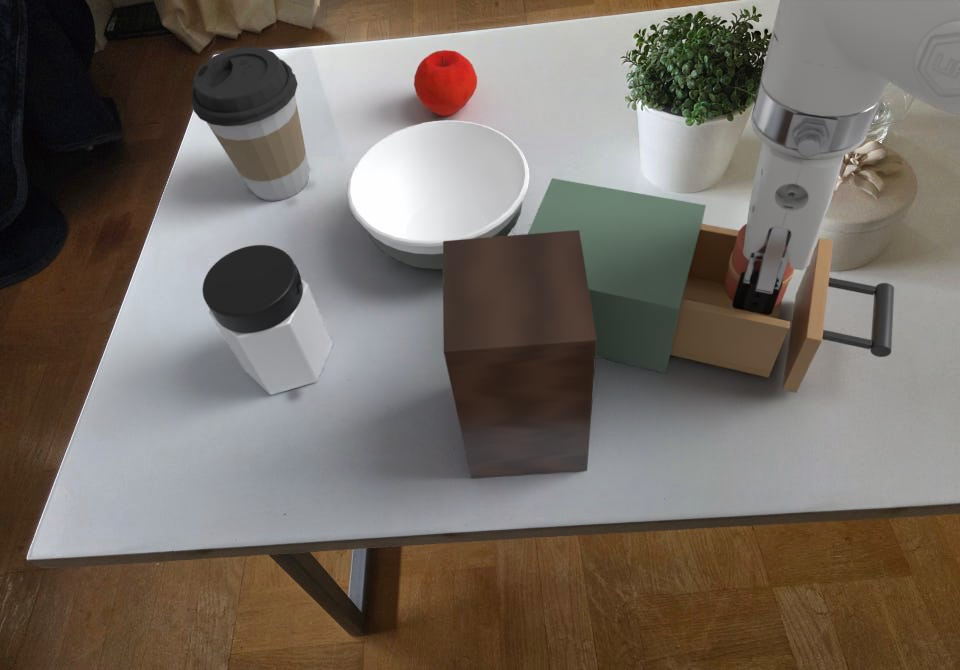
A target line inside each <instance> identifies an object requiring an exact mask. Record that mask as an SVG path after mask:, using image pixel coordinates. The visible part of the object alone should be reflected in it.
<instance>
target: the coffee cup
mask: <svg viewBox="0 0 960 670" xmlns="http://www.w3.org/2000/svg"><path fill="white" fill-rule="evenodd" d="M192 82H193V85H192V89H191V90H190V100H191V105H192V108H193V112H194V113H195V114H196V116H197V117H198V118H199V119H200V120H201V121H204V122H206V124H207V125H208V127H209V128H210V130H211V132H212V133H213V135H214V137H215V138H216V139H217V141H218V143H219V144H220V145H221V147H222V149H223V150H224V152H225V154H226V156H227V157H228V158H229V159H230V162H231V163H232V164H233V166H234V168H235V169H236V170H237V172H238V173H239V175H240V176H241V178H242V180H243V181H244V183H245V185H246V186H247V187H248V189H249V190H250V191H251V192H252V193H253V194H254V195H255V197H257V198H259V199H261V200H264V201H269V202H276V201H277V202H278V201H283V200H287V199H291V198H293V197H294V196H295V195H298V194H299V193H300V192H301V191H302V190H304V188H305V187H306V186H307V184H308V182H309V178H310V173H309V172H310V167H309V162H308V155H307V151H306V146H305V140H304V135H303V129H302V125H301V124H302V123H301V119H300V114H299V108H298V104H297V99H296V92H297V88H298V85H299V84H298V80H297V77H296V74H295V73H293V69H292V67H291V66H290V65H289V64H287V62H286V61H284V59H281V58H280V57H278V56H277V54H275V52H274V51H271V50H268V49H266V48H262V47H256V46H244V47H237V48H236V47H235V48H232V49H229V50H224V51H223V52H220V53H217V54H216V55H214V56H211V58H209V59H208V60H206V61H205V62H204V63H203V64H202V65H200V67H199V68H198V69H197V70H196V72H195V74H194V77H193V79H192Z"/></svg>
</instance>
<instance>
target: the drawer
mask: <svg viewBox="0 0 960 670" xmlns="http://www.w3.org/2000/svg"><path fill="white" fill-rule="evenodd" d="M739 230H740V229H733V228H727V227H721V226H717V225H711V224H706V223H702V224H701V228H700V232H699V236H698V240H697V244H696V247H695V251H694V255H693V259H692V263H691V267H690V271H689V275H688V279H687V283H686V287H685V290H684V294H683V298H682V302H681V306H680V310H679V315H678V320H677V324H676V329H675V333H674V338H673V343H672V347H671V352H670V356H674V357H678V358H682V359H688V360H690V361H694V362H700V363H703V364H708V365H713V366H716V367H721V368H724V369H725V368H726V369H729V370H734V371H738V372H743V373H746V374H751V375H754V376H760V377H764V378H770V375H771V372H772V371H773V369H774V366H775V363H776V361H777V359H778V356H779V353H780V350H782V349H781V348H782V347H783V344H784V343H785V339H786V337H787V335H788V332H789V330H790V332H789V333H790V335H789V340H788V346H787V354H786V360H785V367H784V375H783V381H782V387H781V388H782V390H783V391H786V392H792V393H797V392H798V390H799V388H800V386H801V384H802V382H803V380H804V378H805V375H806V374H807V372H808V370H809V368H810V366H811V364H812V362H813V360H814V358H815V356H816V354H817V352H818V350H819V347H820V346H821V344H822V342H823V341H829V342H833V343H838V344H843V345H847V346H853V347H856V348H862V349H865V350H870V354H872V355H873V356H874V357H877V358H884V357H885V358H886V357H888V356H890V355H891V354H892V347H893V345H892V343H893V326H894V325H893V323H894V302H895V287H894V286H893V284H890V283H888V282H881V283H877V284H876V285H870V284H864V283H860V282H854V281H848V280H845V279H844V280H843V279H838V278H833V277H830V273H831V264H832V255H833V246H834V240H833V239H829V238H828V239H827V238H823V237H818V240H817V243H816V246H815V249H814V252H813V255H812V258H811V261H810V264H809V266H808V267H807V268H805V271H804V273H803V276H802V278H801V280H800V283H799V286H798V289H797V291H796V293H795V298H794V304H793V312H792V320H791V321H789V320H785V319H780V315H781V310H782V309H781V308H782V302H783V299H782V300H781V302H780V303H779V304H777V305H776V306H774V309H773V311H772V314H770V315H764V314H759V313H754V312H749V311H745V310H740V309H736V308H734V307H733V306H732V304H733V301H732V300H731V299H730V298H729V297H728V295H727V293H726V291H725V279H726V276H727V272H728V268H729V260H730V257H731V254H732V252H733V250H734V246H735V243H736V239H737V235H738V232H739ZM829 288H833V289H839V290H844V291H849V292H854V293H859V294H865V295H868V296H869V295H870V296H873V305H872V318H871V319H872V322H871V335H870V336H871V337H870V339H868V338H864V337H859V336H854V335H850V334H845V333H839V332H836V331H831V330H827V329H824V327H825V317H826V310H827V309H826V308H827V301H828V292H829ZM790 327H791V328H790Z"/></svg>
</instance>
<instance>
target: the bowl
mask: <svg viewBox="0 0 960 670" xmlns="http://www.w3.org/2000/svg"><path fill="white" fill-rule="evenodd" d="M529 169H530V168H529V163H528V161H527V159H526V157H525V155H524V152H523V151H522V150H521V149H520V147H518V145H517V144H516V142H514V141H513V140H512V139H511V138H510V137H508V136H507V135H505V134H504V133H502V132H501V131H499V130H496V129H494V128H492V127H490V126H487V125H484V124H480V123H478V122H471V121H466V120H465V121H464V120H447V119H445V120H433V121H427V122H422V123H417V124H414V125H410V126H406V127H404V128H402V129H398V130H396V131H394V132H392V133H390V134H389V135H386V136H384V137H383V138H381V139H380V140H378V141H377V142H375V143H374V144H373V145H371V146H370V147H369V148H368V149H367V150H366V151H365V152H364V153H363V154H362V155H361V156H360V157H359V159H358V160H357V162H356V164H355V165H354V167H353V168H352V170H351V172H350V175H349V178H348V181H347V188H346V199H347V203H348V207H349V210H350V211H351V213H352V215H353V216H354V218H355V219H356V221H357V222H359V223H360V224H361V226H362V227H363V229H364V230H365V232H366V234H367V236H368V237H369V239H370V241H372V243H373V244H374V245H375V246H376V247H377V248H378V249H380V250H381V251H383V252H384V253H386V254H387V255H389V256H390V257H391V258H392V259H395V260H396V261H398V262H400V263H403V264H406V265H408V266H412V267H416V268H422V269H433V270H435V269H436V270H443V241H451V240H463V239H475V238H487V237H499V236H509V235H510V233H511V232H512V230H513V229H514V228H515V227H516V225H517V223H518V221H519V219H520V216H521V214H522V208H523V201H524V198H525V196H526V194H527V191H528V188H529V183H530V170H529Z"/></svg>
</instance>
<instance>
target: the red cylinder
mask: <svg viewBox="0 0 960 670" xmlns="http://www.w3.org/2000/svg"><path fill="white" fill-rule="evenodd" d="M746 226H747V223H745V224H744V225H743V226H742V227H741V228H740V229H738V230H739V232H738V235H737V239H736V243H735V246H734V250H733V252H732V254H731V257H730V260H729V268H728V272H727V276H726V279H725V291H726V293H727V295H728V297H729V298H730V299H731V300H732V301H733V300H734V296H735V293H736V289H737V286H738V283H739V279H740V276H741V272H745V271H746V268H747V264H748V259H747V258H746V257H745V256H744V254H743V249H744V241H745V232H746ZM764 246H766V243H765V244H764ZM784 250H785V248H784ZM761 263H762V259H757V260H756V264H755V267H754V270H759V271H760V267H761ZM795 270H796V269H791V267H790V263H789V260H788V263H787V266H786V269H785V272H784V275H783V278H782V280H783V284H782V287H781V290H780V292H779V295H778V298H777V301H776V303H775V306H776V305H777V304H779V303H780V302H781V300H782V301H783V299H784V297H785V294H786V291H787V288H788V286H789V284H790V282H791V280H792V279H793V277H794V274H795Z"/></svg>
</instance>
